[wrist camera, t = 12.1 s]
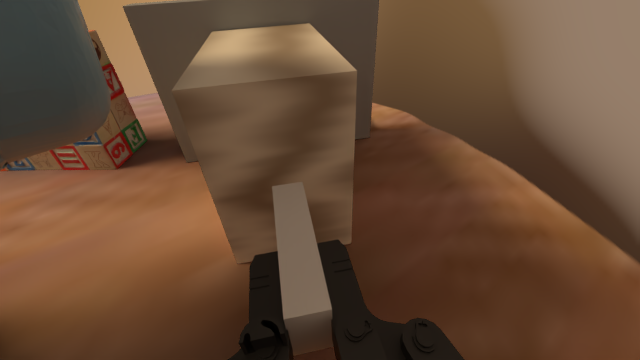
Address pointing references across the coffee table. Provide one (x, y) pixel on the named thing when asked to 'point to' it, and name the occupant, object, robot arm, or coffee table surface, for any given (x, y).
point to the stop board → (241, 13)
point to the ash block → (272, 129)
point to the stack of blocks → (96, 133)
